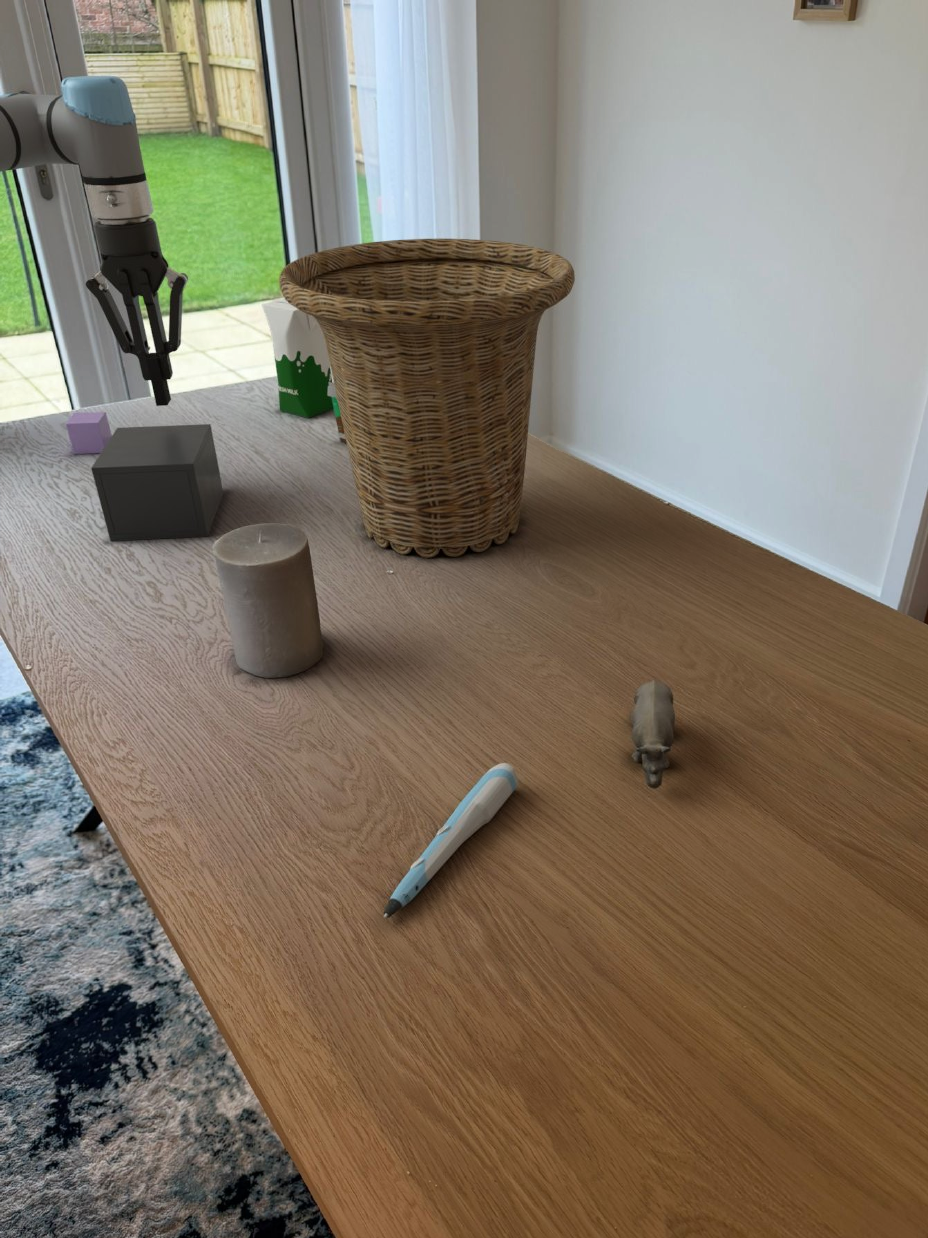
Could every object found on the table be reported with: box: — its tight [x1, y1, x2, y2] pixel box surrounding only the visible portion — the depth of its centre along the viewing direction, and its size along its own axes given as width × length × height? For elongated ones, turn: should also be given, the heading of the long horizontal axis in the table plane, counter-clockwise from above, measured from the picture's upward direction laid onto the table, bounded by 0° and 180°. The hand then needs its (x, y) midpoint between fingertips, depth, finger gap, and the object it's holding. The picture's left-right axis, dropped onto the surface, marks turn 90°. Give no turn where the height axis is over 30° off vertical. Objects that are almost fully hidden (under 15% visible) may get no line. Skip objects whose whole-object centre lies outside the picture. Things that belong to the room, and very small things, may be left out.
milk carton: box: [261, 297, 334, 419], centre depth 174 cm, size 9×9×20 cm
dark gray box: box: [90, 423, 224, 542], centre depth 140 cm, size 15×13×10 cm
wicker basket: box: [278, 238, 576, 559], centre depth 131 cm, size 35×35×33 cm
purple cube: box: [65, 411, 113, 455], centre depth 163 cm, size 5×5×5 cm
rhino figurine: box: [630, 679, 676, 790], centre depth 95 cm, size 4×14×6 cm, turn 174°
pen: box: [383, 762, 519, 919], centre depth 86 cm, size 19×3×3 cm, turn 152°
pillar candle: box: [212, 522, 325, 679], centre depth 109 cm, size 10×10×15 cm
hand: (163, 402), depth 143 cm, fingers closed
